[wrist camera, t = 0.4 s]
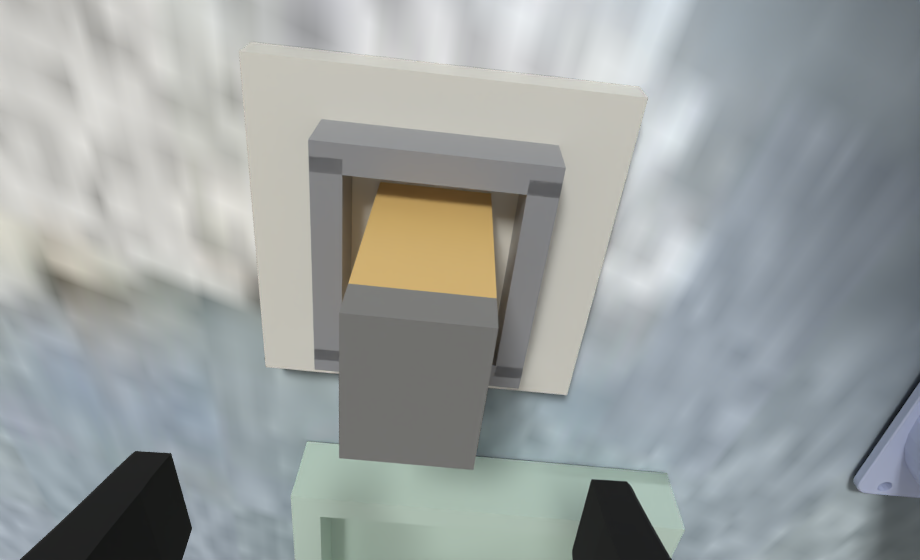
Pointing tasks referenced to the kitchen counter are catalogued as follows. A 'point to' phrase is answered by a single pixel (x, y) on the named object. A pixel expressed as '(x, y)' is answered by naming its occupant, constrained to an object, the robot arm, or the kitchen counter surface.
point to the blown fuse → (419, 329)
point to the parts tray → (455, 508)
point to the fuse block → (440, 166)
